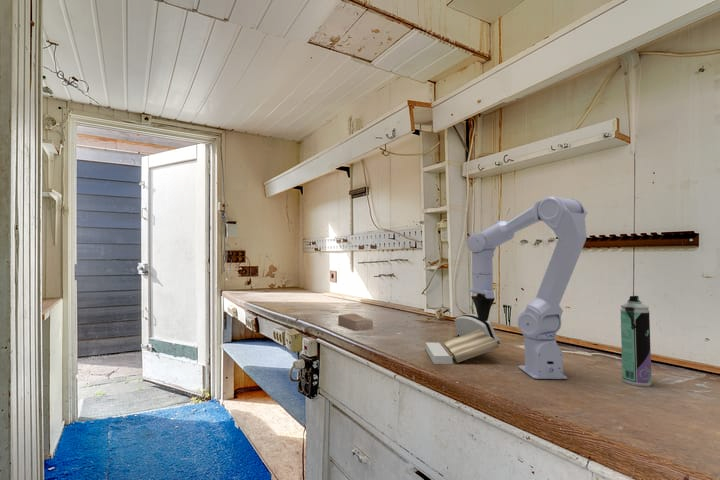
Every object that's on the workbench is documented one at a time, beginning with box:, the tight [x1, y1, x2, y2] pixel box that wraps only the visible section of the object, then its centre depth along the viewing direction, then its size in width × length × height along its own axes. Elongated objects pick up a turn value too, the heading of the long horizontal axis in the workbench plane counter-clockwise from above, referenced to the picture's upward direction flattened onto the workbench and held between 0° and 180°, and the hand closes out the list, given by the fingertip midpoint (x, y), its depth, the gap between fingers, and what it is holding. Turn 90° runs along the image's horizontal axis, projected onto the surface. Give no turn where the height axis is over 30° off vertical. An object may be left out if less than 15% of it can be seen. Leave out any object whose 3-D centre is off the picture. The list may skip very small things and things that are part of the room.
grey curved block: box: [454, 313, 502, 344], centre depth 134 cm, size 17×5×10 cm, turn 25°
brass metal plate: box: [443, 329, 500, 364], centre depth 112 cm, size 16×12×2 cm
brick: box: [337, 313, 374, 332], centre depth 158 cm, size 17×8×5 cm, turn 30°
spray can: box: [620, 295, 653, 387], centre depth 89 cm, size 6×6×20 cm
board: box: [425, 341, 454, 365], centre depth 112 cm, size 16×5×2 cm, turn 178°
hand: (483, 320), depth 112 cm, fingers closed
